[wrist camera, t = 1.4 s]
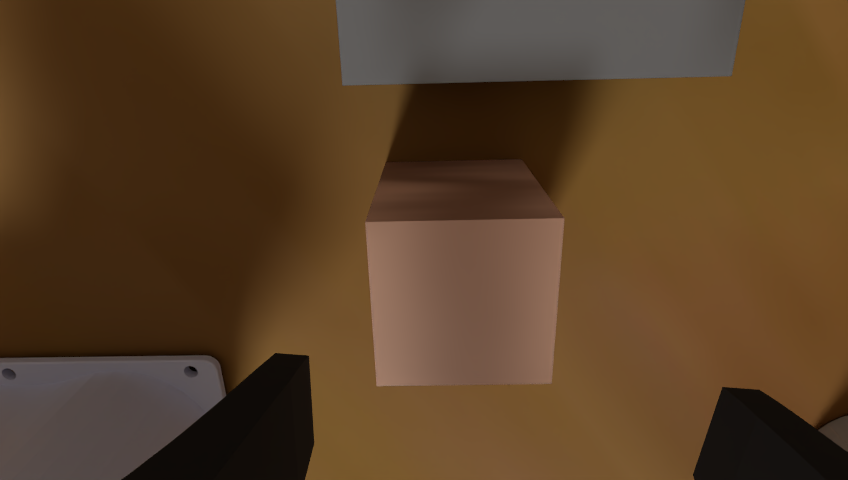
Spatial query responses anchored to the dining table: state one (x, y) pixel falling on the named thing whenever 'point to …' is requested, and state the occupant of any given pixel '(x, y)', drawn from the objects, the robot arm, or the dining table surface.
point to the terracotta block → (463, 274)
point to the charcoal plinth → (534, 40)
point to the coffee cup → (837, 431)
